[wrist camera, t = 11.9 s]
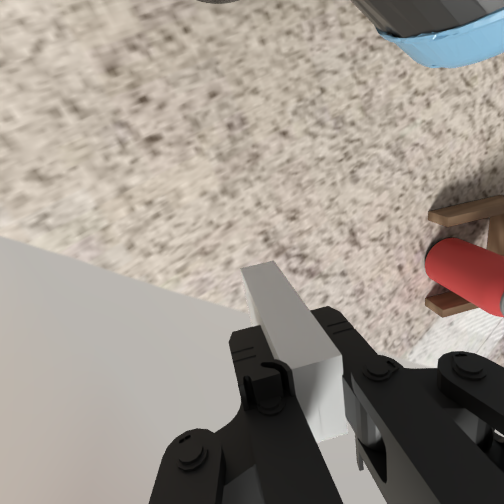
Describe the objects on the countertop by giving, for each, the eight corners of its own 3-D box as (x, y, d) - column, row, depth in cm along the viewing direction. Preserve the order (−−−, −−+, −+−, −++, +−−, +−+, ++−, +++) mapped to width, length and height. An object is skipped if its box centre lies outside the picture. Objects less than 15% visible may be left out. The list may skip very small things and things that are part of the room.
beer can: (464, 230, 45) (555, 262, 34) (463, 271, 48) (548, 314, 37) (421, 244, 45) (499, 281, 34) (422, 285, 47) (496, 332, 36)
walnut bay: (428, 211, 43) (448, 217, 40) (500, 194, 45) (524, 199, 41) (425, 305, 49) (442, 317, 45) (489, 287, 50) (510, 298, 47)
